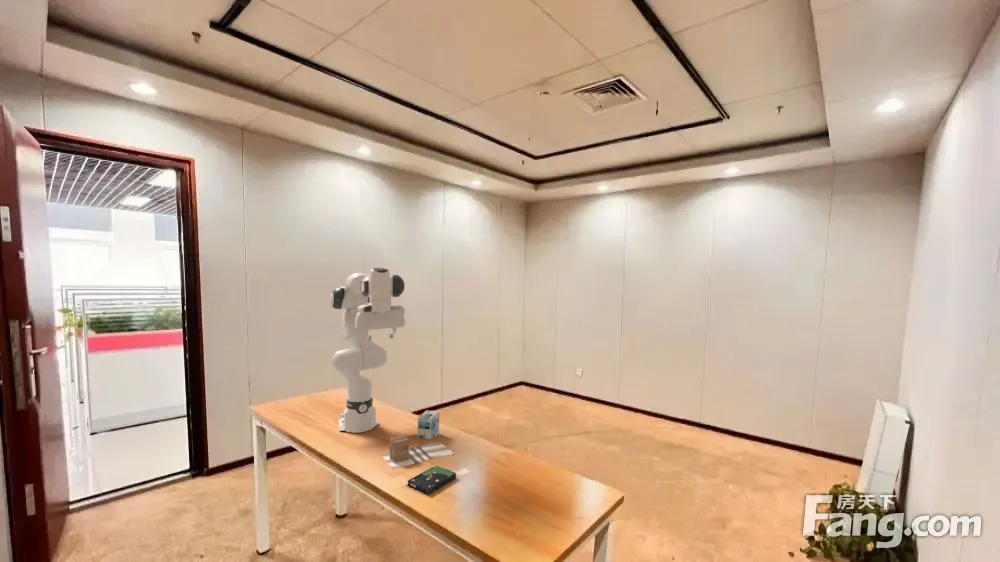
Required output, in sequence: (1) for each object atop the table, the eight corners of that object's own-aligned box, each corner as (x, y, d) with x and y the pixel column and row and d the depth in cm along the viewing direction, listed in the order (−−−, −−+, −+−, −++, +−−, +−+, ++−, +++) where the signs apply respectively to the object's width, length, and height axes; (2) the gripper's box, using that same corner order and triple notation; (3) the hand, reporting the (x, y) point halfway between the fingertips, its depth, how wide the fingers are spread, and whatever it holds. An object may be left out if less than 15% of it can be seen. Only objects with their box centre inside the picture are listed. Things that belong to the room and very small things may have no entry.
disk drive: (428, 498, 137) (456, 479, 149) (428, 489, 137) (456, 472, 149) (406, 488, 143) (436, 471, 155) (407, 480, 142) (436, 464, 155)
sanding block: (389, 458, 161) (390, 438, 161) (404, 454, 164) (404, 435, 164) (393, 463, 157) (394, 442, 157) (408, 459, 160) (408, 439, 160)
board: (381, 458, 164) (381, 454, 164) (439, 444, 178) (439, 441, 178) (392, 473, 152) (392, 469, 152) (454, 456, 166) (454, 453, 166)
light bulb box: (431, 442, 180) (431, 418, 180) (417, 441, 181) (417, 417, 181) (439, 433, 190) (439, 411, 190) (426, 432, 192) (426, 409, 191)
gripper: (402, 304, 177) (402, 336, 177) (353, 307, 166) (354, 340, 167) (406, 306, 171) (407, 338, 172) (357, 308, 161) (357, 342, 161)
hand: (380, 339), depth 169 cm, fingers open, 8 cm apart
